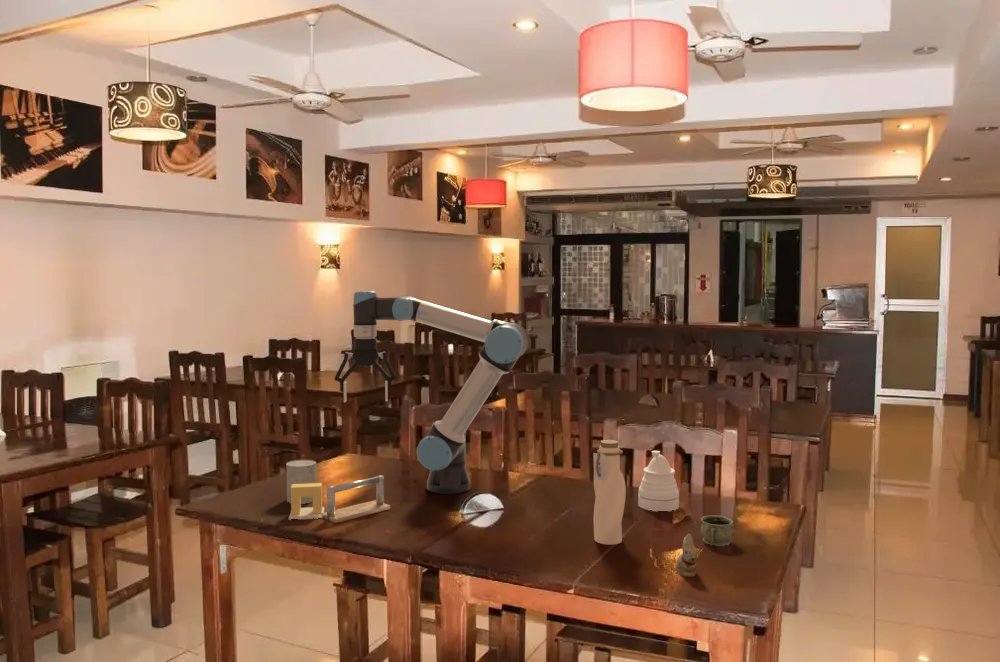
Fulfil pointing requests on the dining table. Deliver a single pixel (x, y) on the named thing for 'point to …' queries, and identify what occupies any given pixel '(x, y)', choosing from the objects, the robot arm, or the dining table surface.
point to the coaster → (307, 514)
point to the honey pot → (658, 486)
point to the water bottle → (608, 493)
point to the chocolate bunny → (687, 558)
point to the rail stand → (357, 509)
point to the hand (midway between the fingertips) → (365, 401)
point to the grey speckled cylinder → (300, 476)
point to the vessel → (716, 530)
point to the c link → (306, 491)
